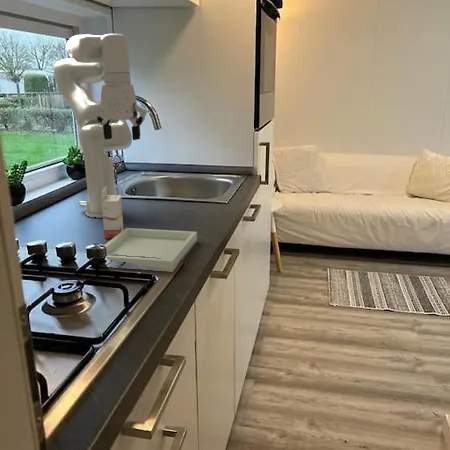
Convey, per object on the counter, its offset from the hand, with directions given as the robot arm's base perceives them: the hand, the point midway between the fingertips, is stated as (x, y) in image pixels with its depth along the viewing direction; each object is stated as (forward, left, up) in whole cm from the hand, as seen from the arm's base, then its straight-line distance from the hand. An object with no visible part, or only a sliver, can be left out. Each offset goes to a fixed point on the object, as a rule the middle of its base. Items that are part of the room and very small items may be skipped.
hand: (122, 139), depth 144 cm
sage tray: (+13, -19, -29) cm, 37 cm away
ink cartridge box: (-3, -5, -29) cm, 30 cm away
